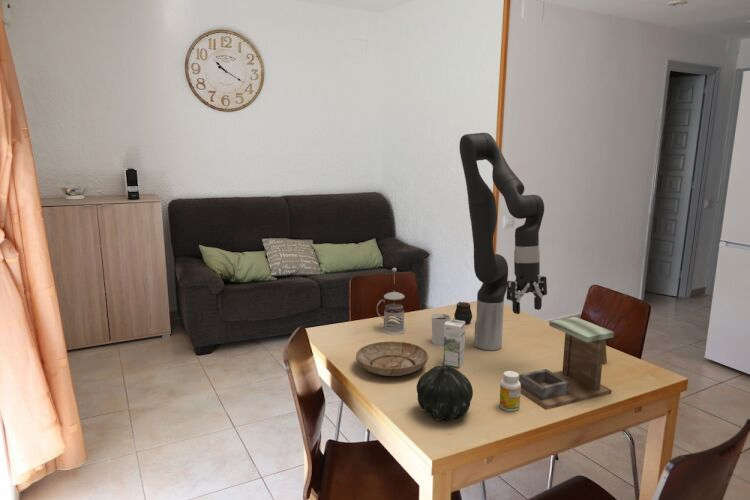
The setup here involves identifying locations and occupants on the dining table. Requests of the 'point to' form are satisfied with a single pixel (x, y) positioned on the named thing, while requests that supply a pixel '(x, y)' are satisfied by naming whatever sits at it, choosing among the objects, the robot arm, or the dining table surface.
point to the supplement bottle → (510, 391)
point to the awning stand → (571, 367)
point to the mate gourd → (463, 312)
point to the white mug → (438, 328)
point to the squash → (444, 392)
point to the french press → (393, 313)
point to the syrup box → (454, 343)
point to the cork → (604, 353)
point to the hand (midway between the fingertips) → (527, 311)
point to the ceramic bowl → (391, 358)
